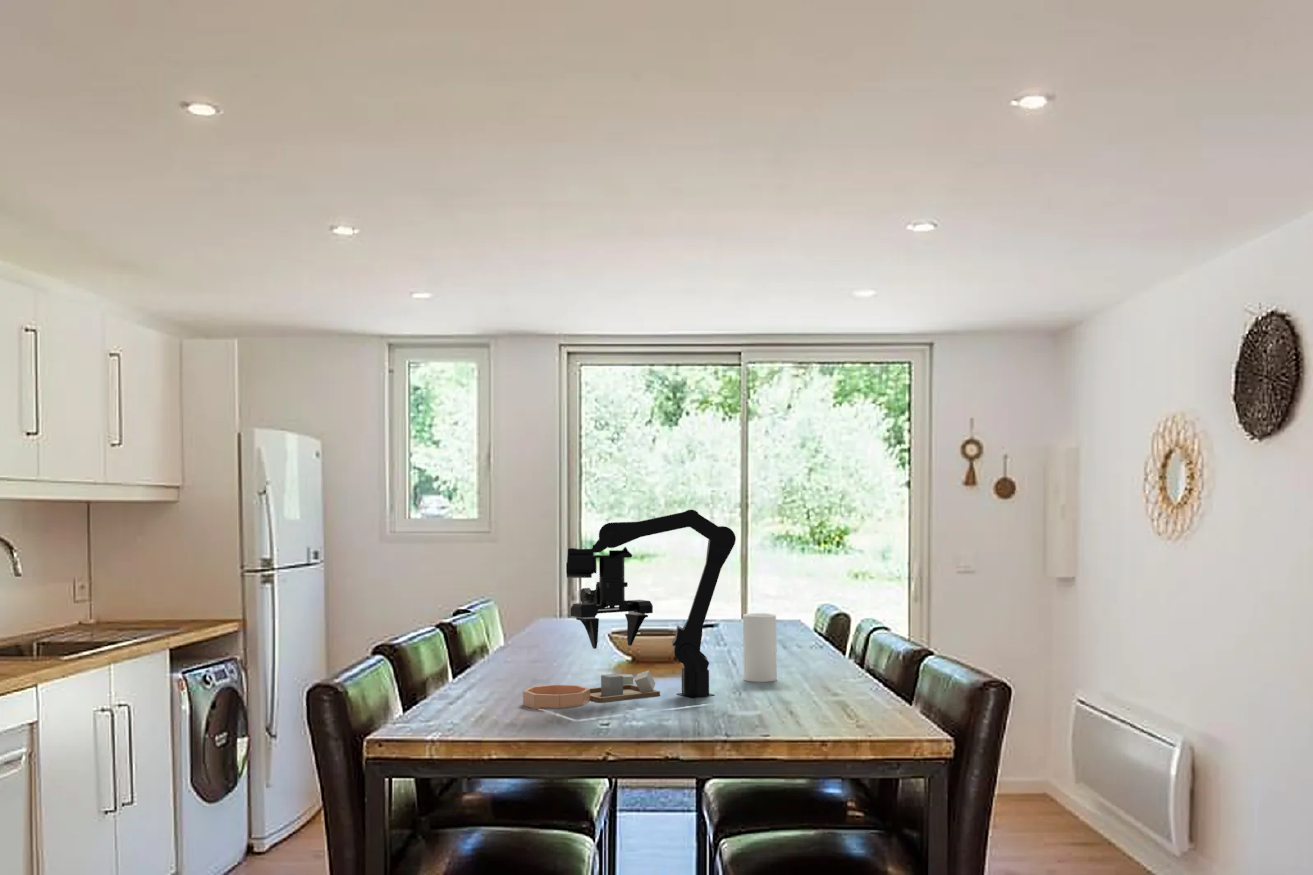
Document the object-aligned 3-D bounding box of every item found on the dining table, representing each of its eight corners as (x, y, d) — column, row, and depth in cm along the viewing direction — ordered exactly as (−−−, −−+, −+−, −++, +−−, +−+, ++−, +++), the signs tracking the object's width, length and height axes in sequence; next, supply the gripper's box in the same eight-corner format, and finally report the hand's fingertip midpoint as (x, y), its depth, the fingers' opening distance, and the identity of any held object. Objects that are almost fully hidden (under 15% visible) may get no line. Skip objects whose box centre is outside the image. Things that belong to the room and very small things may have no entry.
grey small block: (643, 687, 245) (655, 683, 245) (641, 694, 243) (653, 690, 242) (637, 674, 245) (648, 670, 244) (634, 680, 242) (646, 676, 241)
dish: (599, 705, 231) (599, 691, 232) (542, 711, 224) (542, 697, 224) (569, 696, 243) (569, 683, 243) (515, 702, 235) (515, 688, 236)
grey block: (623, 695, 240) (623, 676, 241) (610, 697, 238) (610, 677, 239) (614, 693, 244) (614, 673, 244) (601, 694, 242) (601, 675, 242)
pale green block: (633, 676, 254) (633, 688, 254) (631, 674, 258) (631, 686, 258) (619, 677, 254) (619, 688, 254) (618, 674, 258) (618, 686, 258)
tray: (659, 697, 240) (659, 691, 241) (599, 704, 232) (599, 698, 232) (630, 690, 251) (630, 684, 251) (572, 696, 243) (572, 690, 243)
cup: (740, 681, 264) (739, 615, 265) (747, 676, 272) (746, 612, 273) (773, 682, 261) (772, 616, 262) (779, 677, 269) (778, 613, 270)
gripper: (628, 574, 255) (629, 640, 254) (559, 577, 245) (559, 646, 244) (653, 576, 245) (654, 645, 244) (582, 580, 235) (582, 651, 234)
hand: (612, 647), depth 242 cm, fingers open, 9 cm apart
